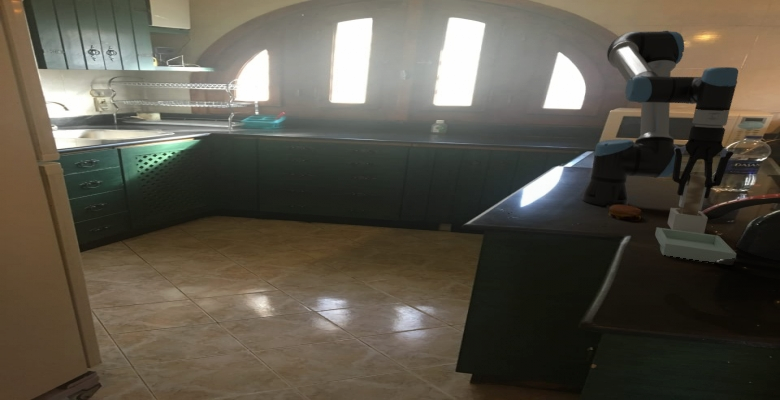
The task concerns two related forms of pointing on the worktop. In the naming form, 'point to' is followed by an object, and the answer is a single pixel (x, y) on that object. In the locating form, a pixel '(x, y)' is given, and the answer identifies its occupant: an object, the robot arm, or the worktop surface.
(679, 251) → the tray
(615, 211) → the burger
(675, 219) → the white square box
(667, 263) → the worktop surface
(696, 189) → the peg
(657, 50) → the robot arm
